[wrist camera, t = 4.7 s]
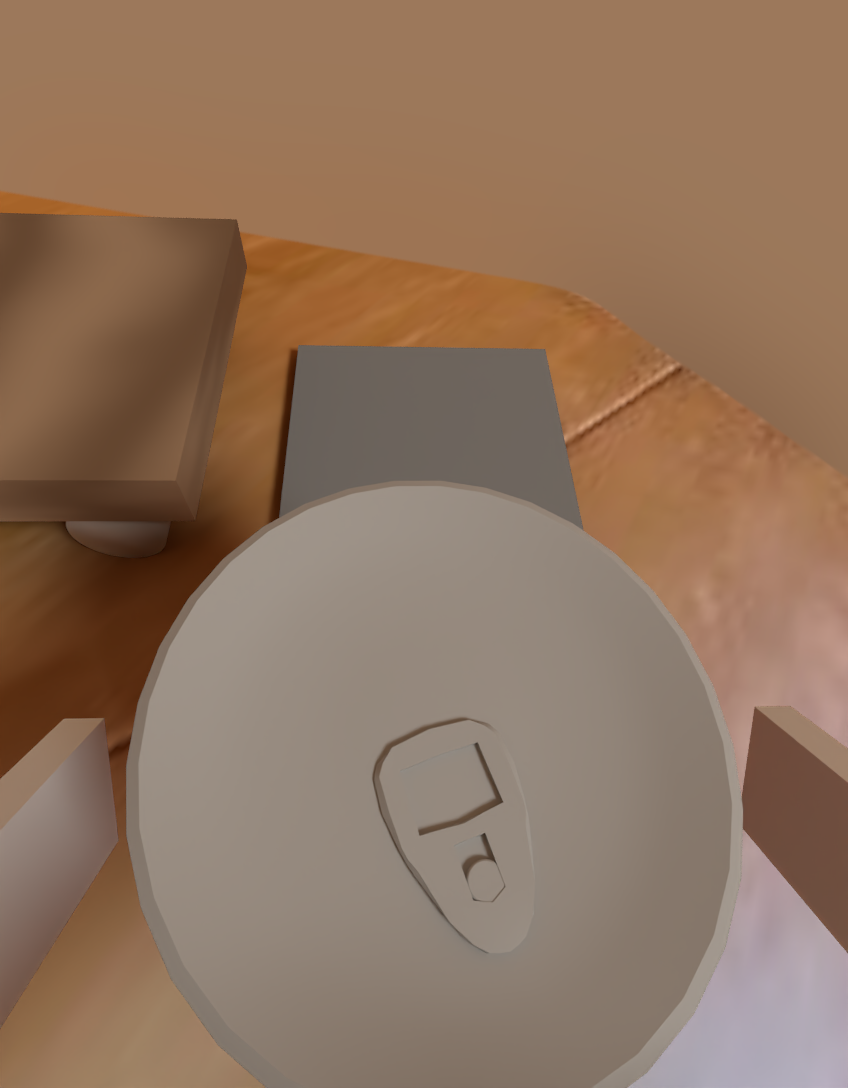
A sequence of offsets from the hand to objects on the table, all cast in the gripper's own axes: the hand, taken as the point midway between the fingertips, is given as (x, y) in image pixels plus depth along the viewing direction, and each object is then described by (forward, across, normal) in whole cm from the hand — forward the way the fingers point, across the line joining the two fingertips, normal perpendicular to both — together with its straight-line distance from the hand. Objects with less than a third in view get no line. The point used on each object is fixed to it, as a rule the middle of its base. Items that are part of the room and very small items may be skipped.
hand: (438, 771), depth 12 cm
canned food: (+4, 0, -4) cm, 6 cm away
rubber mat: (+14, 0, +6) cm, 15 cm away
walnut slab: (+14, -16, +6) cm, 22 cm away
